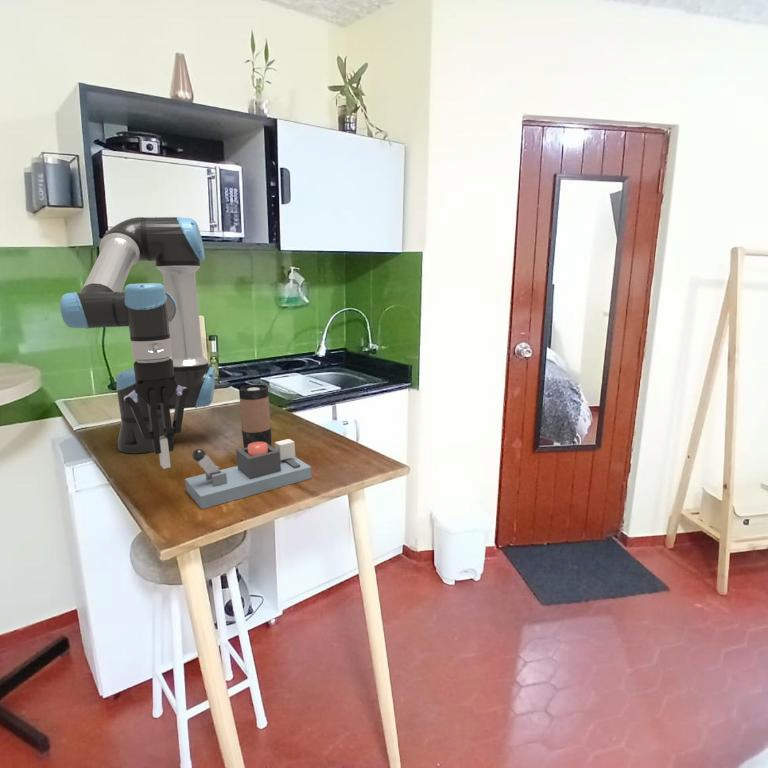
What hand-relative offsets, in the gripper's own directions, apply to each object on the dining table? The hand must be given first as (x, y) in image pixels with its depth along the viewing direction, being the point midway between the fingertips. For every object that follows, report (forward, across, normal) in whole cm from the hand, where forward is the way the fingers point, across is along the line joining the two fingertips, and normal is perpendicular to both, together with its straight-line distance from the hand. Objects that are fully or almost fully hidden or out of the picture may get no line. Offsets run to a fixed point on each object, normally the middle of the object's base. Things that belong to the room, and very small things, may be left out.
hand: (165, 466), depth 112 cm
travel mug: (+10, +27, +15) cm, 32 cm away
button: (+5, +21, 0) cm, 22 cm away
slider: (+6, +29, +2) cm, 30 cm away
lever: (+5, +11, 0) cm, 12 cm away
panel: (+9, +19, 0) cm, 21 cm away
